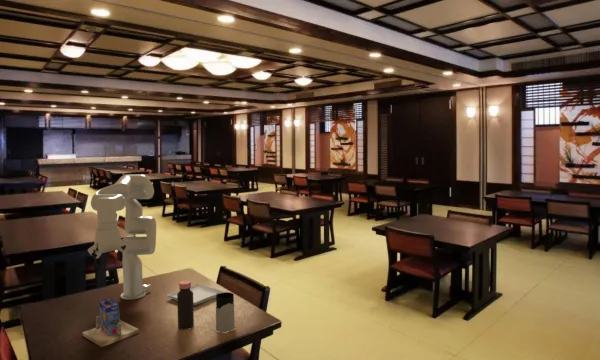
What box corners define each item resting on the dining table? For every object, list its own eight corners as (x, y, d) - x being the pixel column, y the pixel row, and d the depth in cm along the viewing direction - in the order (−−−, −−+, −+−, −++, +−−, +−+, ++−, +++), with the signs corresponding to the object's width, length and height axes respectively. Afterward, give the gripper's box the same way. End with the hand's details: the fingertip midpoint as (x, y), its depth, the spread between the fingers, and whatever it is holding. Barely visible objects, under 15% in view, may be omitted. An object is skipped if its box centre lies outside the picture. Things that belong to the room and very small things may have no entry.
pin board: (119, 322, 183) (118, 308, 182) (138, 332, 173) (138, 317, 173) (82, 335, 170) (82, 320, 170) (101, 347, 161) (100, 331, 160)
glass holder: (219, 335, 171) (218, 300, 170) (208, 322, 183) (207, 290, 182) (238, 330, 176) (238, 296, 174) (226, 318, 188) (225, 286, 186)
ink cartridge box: (99, 328, 174) (98, 295, 172) (113, 325, 177) (112, 292, 176) (106, 336, 166) (105, 302, 165) (120, 332, 170) (119, 299, 169)
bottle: (177, 324, 181) (176, 280, 179) (192, 322, 184) (191, 279, 182) (178, 331, 175) (177, 285, 173) (195, 328, 178) (194, 283, 176)
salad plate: (197, 288, 228) (197, 283, 227) (224, 297, 215) (224, 290, 215) (165, 300, 210) (165, 294, 210) (192, 310, 198) (192, 303, 198)
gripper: (121, 220, 185) (123, 257, 187) (82, 227, 172) (85, 267, 174) (130, 223, 181) (132, 260, 183) (91, 230, 167) (93, 270, 169)
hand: (109, 263), depth 178 cm, fingers open, 9 cm apart
